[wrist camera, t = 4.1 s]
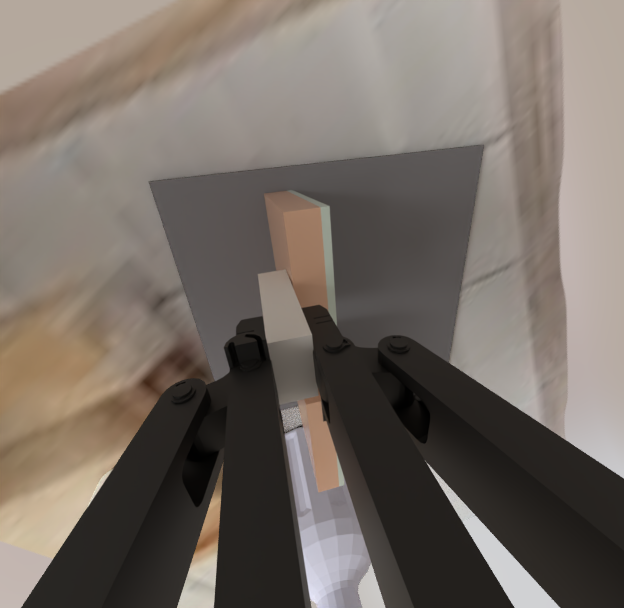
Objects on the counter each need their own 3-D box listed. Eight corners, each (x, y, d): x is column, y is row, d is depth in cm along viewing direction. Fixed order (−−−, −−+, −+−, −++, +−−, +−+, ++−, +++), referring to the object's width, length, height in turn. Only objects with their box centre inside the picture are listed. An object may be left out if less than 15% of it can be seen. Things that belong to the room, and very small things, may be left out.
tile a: (282, 307, 24) (305, 378, 16) (263, 193, 19) (283, 212, 12) (307, 302, 24) (342, 369, 16) (294, 189, 20) (332, 205, 12)
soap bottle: (352, 453, 35) (523, 903, 14) (287, 486, 35) (357, 986, 14) (325, 410, 31) (515, 968, 9) (251, 448, 31) (273, 1090, 9)
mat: (228, 418, 28) (228, 422, 28) (151, 181, 18) (148, 181, 18) (443, 366, 32) (447, 370, 32) (478, 145, 22) (484, 144, 21)
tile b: (297, 402, 29) (318, 492, 21) (285, 327, 25) (305, 404, 17) (318, 397, 29) (346, 484, 21) (309, 323, 25) (340, 396, 17)
